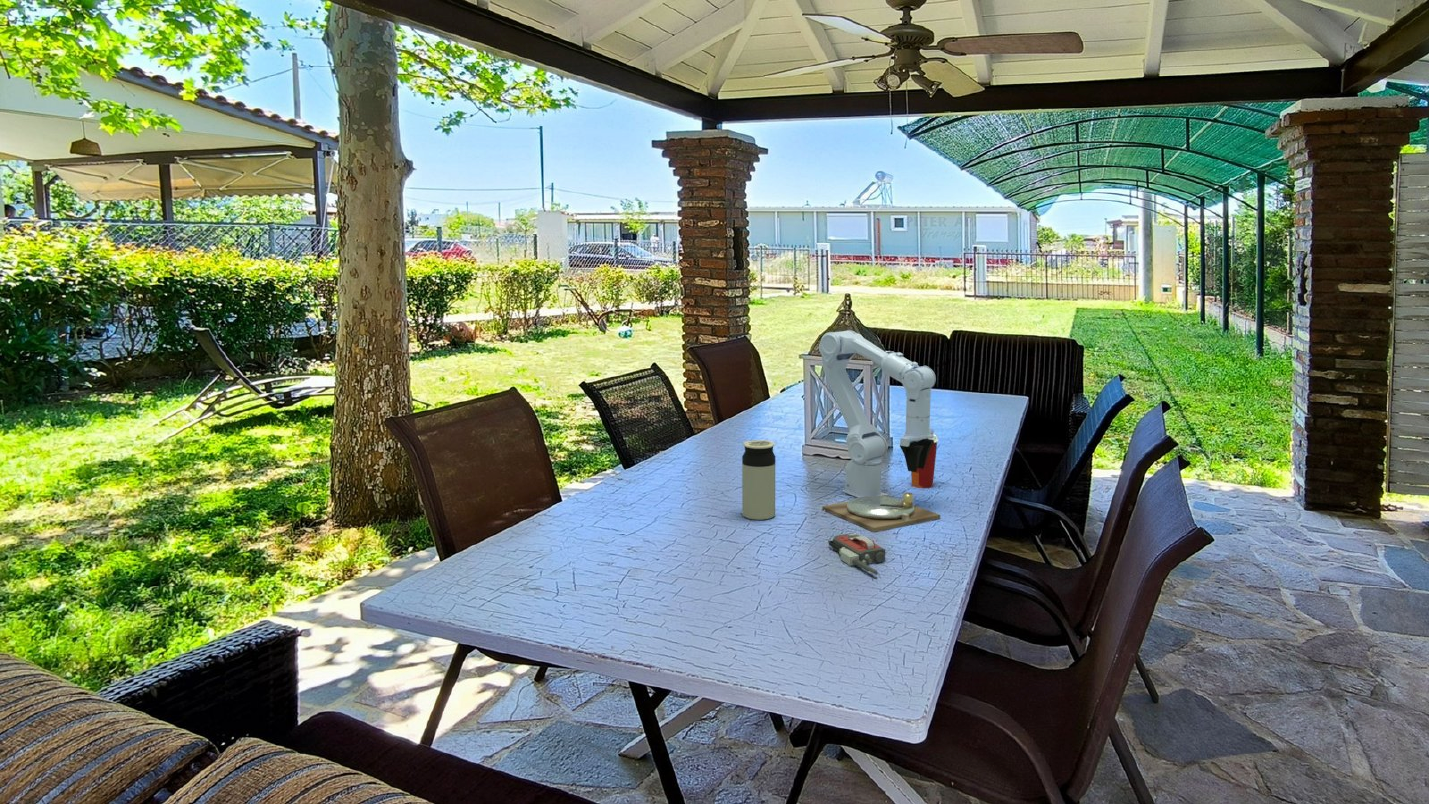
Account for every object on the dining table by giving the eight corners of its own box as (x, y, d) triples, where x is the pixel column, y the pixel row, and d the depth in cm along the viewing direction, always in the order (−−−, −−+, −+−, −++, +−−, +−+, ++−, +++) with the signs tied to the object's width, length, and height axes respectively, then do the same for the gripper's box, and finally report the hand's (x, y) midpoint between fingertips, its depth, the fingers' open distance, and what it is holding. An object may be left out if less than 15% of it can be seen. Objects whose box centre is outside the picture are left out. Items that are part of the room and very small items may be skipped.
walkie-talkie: (819, 549, 188) (871, 581, 170) (820, 530, 187) (872, 559, 169) (854, 544, 192) (909, 574, 173) (854, 524, 191) (909, 553, 173)
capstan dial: (842, 516, 206) (843, 499, 205) (851, 498, 221) (851, 481, 220) (911, 521, 202) (912, 503, 201) (915, 502, 217) (916, 486, 216)
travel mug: (781, 515, 212) (782, 443, 208) (760, 522, 206) (760, 448, 203) (756, 509, 217) (756, 438, 214) (735, 516, 211) (735, 443, 208)
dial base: (822, 510, 216) (822, 500, 215) (885, 498, 225) (885, 489, 225) (874, 532, 198) (874, 522, 198) (940, 518, 208) (940, 509, 207)
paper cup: (940, 484, 239) (942, 434, 236) (931, 490, 232) (933, 439, 230) (912, 480, 243) (914, 431, 240) (903, 486, 236) (904, 436, 234)
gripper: (920, 422, 206) (918, 478, 209) (945, 413, 217) (943, 466, 220) (893, 419, 211) (891, 473, 213) (919, 410, 222) (917, 462, 224)
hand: (916, 469), depth 217 cm, fingers open, 4 cm apart
